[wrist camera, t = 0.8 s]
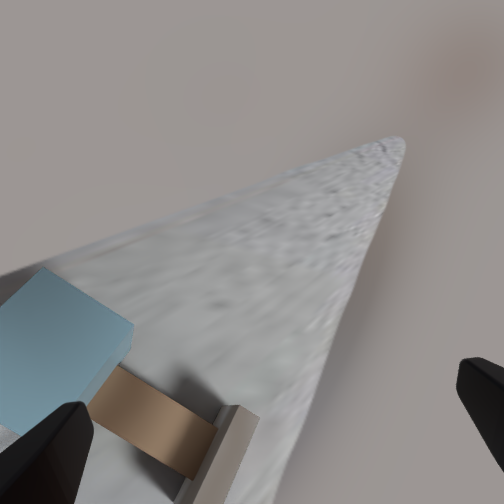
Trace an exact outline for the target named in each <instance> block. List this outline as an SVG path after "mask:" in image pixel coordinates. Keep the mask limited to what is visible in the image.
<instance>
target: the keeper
mask: <svg viewBox="0 0 504 504" xmlns="http://www.w3.org/2000/svg"><path fill="white" fill-rule="evenodd" d="M133 329H134V324H132V323H131V322H129V321H128V320H126V319H124V318H123V317H121V316H120V315H118V314H117V313H115V312H113V311H112V310H110V309H109V308H107V307H106V306H104V305H102V304H101V303H99V302H98V301H96V300H95V299H93V298H92V297H90V296H88V295H87V294H85V293H84V292H82V291H81V290H79V289H77V288H76V287H74V286H73V285H71V284H70V283H68V282H66V281H65V280H63V279H62V278H60V277H59V276H57V275H55V274H54V273H52V272H51V271H49V270H48V269H46V268H44V267H43V268H41V269H40V270H39V271H38V272H37V273H36V274H35V275H34V276H33V277H32V278H31V279H30V280H29V281H28V282H26V283H25V284H24V285H23V286H22V287H21V288H20V289H19V290H18V291H17V292H16V293H15V294H14V295H12V296H11V297H10V298H9V299H8V300H7V301H6V302H5V303H4V304H3V305H2V306H1V307H0V424H2V425H3V426H5V427H7V428H8V429H10V430H12V431H13V432H15V433H17V434H18V435H20V436H23V435H24V434H25V433H27V432H28V431H29V430H30V429H32V428H33V427H34V426H35V425H37V424H38V423H39V422H40V421H42V420H43V419H44V418H46V417H47V416H48V415H49V414H51V413H52V412H53V411H54V410H56V409H57V408H58V407H59V406H61V405H62V404H64V403H67V402H74V401H83V402H84V403H85V405H86V407H87V405H88V404H89V402H90V401H91V400H92V398H93V397H94V396H95V394H96V393H97V392H98V390H99V389H100V388H101V386H102V385H103V383H104V382H105V381H106V379H107V378H108V377H109V375H110V374H111V373H112V371H113V370H114V369H115V367H116V366H117V365H118V363H119V362H120V363H121V361H122V360H123V359H124V357H125V356H126V355H127V353H128V352H129V351H130V349H131V342H132V336H133Z"/></svg>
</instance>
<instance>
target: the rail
mask: <svg viewBox="0 0 504 504" xmlns="http://www.w3.org/2000/svg"><path fill="white" fill-rule="evenodd" d="M87 410H88V412H89V415H90V418H91V419H92V420H93V421H95V422H96V423H98V424H100V425H101V426H103V427H105V428H106V429H108V430H110V431H111V432H113V433H115V434H116V435H118V436H119V437H121V438H123V439H124V440H126V441H128V442H129V443H131V444H133V445H134V446H136V447H138V448H139V449H141V450H142V451H144V452H146V453H147V454H149V455H151V456H152V457H154V458H156V459H157V460H159V461H160V462H162V463H164V464H165V465H167V466H169V467H170V468H172V469H174V470H175V471H177V472H179V473H180V474H182V475H183V476H185V477H186V478H185V480H184V482H183V484H182V486H181V488H180V490H179V492H178V494H177V496H176V498H175V500H174V502H173V503H174V504H224V501H225V499H226V497H227V494H228V492H229V490H230V487H231V485H232V483H233V480H234V478H235V476H236V473H237V471H238V469H239V466H240V464H241V461H242V459H243V457H244V454H245V452H246V450H247V447H248V445H249V443H250V440H251V438H252V436H253V433H254V431H255V429H256V426H257V424H258V422H259V419H260V418H259V417H258V416H256V415H255V414H253V413H252V412H250V411H248V410H247V409H245V408H244V407H242V406H241V405H230V406H222V407H221V409H220V411H219V413H218V415H217V417H216V419H215V421H214V423H213V425H212V424H210V423H209V422H207V421H206V420H204V419H202V418H201V417H199V416H198V415H196V414H194V413H193V412H191V411H190V410H188V409H186V408H185V407H183V406H182V405H180V404H178V403H177V402H175V401H174V400H172V399H170V398H169V397H167V396H166V395H164V394H162V393H161V392H159V391H158V390H156V389H154V388H153V387H151V386H150V385H148V384H146V383H145V382H143V381H142V380H140V379H138V378H137V377H135V376H134V375H132V374H130V373H129V372H127V371H126V370H124V369H122V368H121V367H119V366H118V365H117V366H116V367H115V369H114V370H113V371H112V373H111V374H110V375H109V377H108V378H107V379H106V381H105V382H104V383H103V385H102V386H101V388H100V389H99V390H98V392H97V393H96V394H95V396H94V397H93V398H92V400H91V401H90V402H89V404H88V405H87Z"/></svg>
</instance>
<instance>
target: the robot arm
mask: <svg viewBox="0 0 504 504" xmlns="http://www.w3.org/2000/svg"><path fill="white" fill-rule="evenodd" d="M456 390H457V393H458V396H459V398H460V400H461V401H462V403H463V405H464V406H465V408H466V410H467V412H468V413H469V415H470V417H471V419H472V420H473V422H474V424H475V426H476V427H477V429H478V431H479V433H480V434H481V436H482V438H483V439H484V441H485V443H486V445H487V446H488V448H489V450H490V452H491V453H492V455H493V457H494V458H495V460H496V462H497V463H498V465H499V466H500V467H501V469H502V471H503V472H504V368H503V367H501V366H499V365H497V364H494V363H492V362H490V361H488V360H485V359H483V358H480V357H475V358H466V359H462V361H461V362H460V364H459V370H458V377H457V383H456ZM93 434H94V427H93V423H92V421H91V418H90V415H89V412H88V410H87V407H86V405H85V403H84V402H83V401H74V402H67V403H64V404H62V405H61V406H59V407H58V408H57V409H56V410H54V411H53V412H52V413H51V414H49V415H48V416H47V417H46V418H44V419H43V420H42V421H40V422H39V423H38V424H37V425H35V426H34V427H33V428H32V429H30V430H29V431H28V432H27V433H25V434H24V435H23V436H22V437H20V438H19V439H18V440H16V441H15V442H14V443H13V444H11V445H10V446H9V447H8V448H6V449H5V450H4V451H3V452H1V453H0V504H74V502H75V499H76V496H77V492H78V489H79V485H80V482H81V478H82V475H83V471H84V467H85V464H86V460H87V457H88V453H89V450H90V446H91V443H92V439H93Z"/></svg>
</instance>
